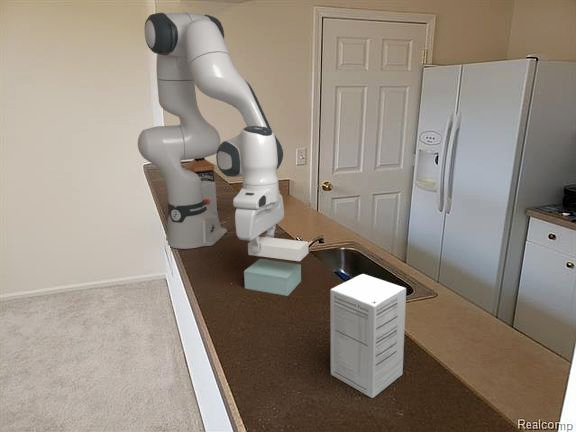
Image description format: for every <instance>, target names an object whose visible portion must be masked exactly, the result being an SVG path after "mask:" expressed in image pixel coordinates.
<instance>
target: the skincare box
mask: <svg viewBox="0 0 576 432" xmlns="http://www.w3.org/2000/svg"><path fill="white" fill-rule="evenodd" d="M201 186H202V198H203V200H204V199H210V201H211V202H210V205H207V204H205V205H206V208H207V210H208V211H210V212H211V213H212V214H214V215H216V216H217V217H218V218H219V214H218V210H217V202H218V201H217V200H218V199H217V191H216V181H214V182H211V181H201Z"/></svg>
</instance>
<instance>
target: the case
mask: <svg viewBox="0 0 576 432" xmlns="http://www.w3.org/2000/svg"><path fill="white" fill-rule="evenodd" d="M243 278H244V280H243V281H244V289H247V290H251V291H257V292H263V293H267V294H275V295H280V296H286V297H287V296H289V295H290V294H291V293H292V292H293V290H295V289H296V287H298V285H299V284H300V283H301V282H302V264H300V263H294V262H287V261H286V262H285V261H278V260H272V259H265V258H259V259H258V260H256V261H255V262H254V263H253V264H251V265H250V266H248V267H247V268H246V269H244V271H243Z"/></svg>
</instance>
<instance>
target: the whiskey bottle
mask: <svg viewBox="0 0 576 432" xmlns="http://www.w3.org/2000/svg"><path fill="white" fill-rule="evenodd" d="M185 169H187V170H190V171H192V172H194V173H196V174H197V175H198V176H199V177H200V179H201V181H211V182H215V174H214V170H215V164H214V163H211V162H210V161H208V160H207V159H206V157H205V158H198V159H191V161H189V162H188V163H186V164H185ZM218 202H219V201H217V208H218V209H219V205H218Z"/></svg>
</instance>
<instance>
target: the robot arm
mask: <svg viewBox="0 0 576 432" xmlns="http://www.w3.org/2000/svg"><path fill="white" fill-rule="evenodd" d="M144 38H145V41H146V45H147V47H148V48H149V50H150V51H151V52H152V53H154V54H156V65H155V66H156V68H155V69H156V70H155V71H156V85H157V95H158V103H159V106H160V107H161V108H162V109H163V110H164V111H165V112H167V113H169V114H171V115H173V116H175V117H178V118H179V122H180V123H179V124H175V125H160V126H154V127H153V126H152V127H149V128H147V129H143V130H142V131H141V132H140V133H139V135H138V139H137V148H138V151H139V153H140V155H141V157H142V158H143V159H145V160H146V161H147V162H149V163H151V164H153V166H155V167H156V168H157V169H158V171H159V172H160V174H161V175H162V177H163V180H164V182H165V187H166V192H167V201H168V202H167V205H166V206H167V208H166V209H167V214H168V217H167V235H166V236H165V240H166V241H167V245H168V246H169V247H171V248H173V249H180V250H181V249H183V250H184V249H186V250H187V249H196V248H201V247H210V246H214V245H215V244H216V243H217V242H218V241H220V240H221V238H222V237H223V236H225V235H226V234H225V233H226V232H227V233H228V229H226V228H224V227H221V225H220V220H219V216H218V217H217V216H216V215H214V214H212V213H211V212H210V211H208V210H207V208H206V205H205V204H207V205H210V202H211V201H210V199H204V200H203V198H202V186H201V179H200V177H199V176H198V175H197V174H196V173H194V172H192V171H190V170H187V169H186V168H183V167H182V161H185V160H194V159H198V158H205V159H206V158H208V157H211V156H213V155H216V156H215V158H216V165H217V168H218V169H219V170H220V172H221V173H222V174H223V175H225V176H226V177H230V178H237V177H242V187H241V189H240V191H238V193H237V194H236V196H235V197H234V198H233V200H232V204H233V207H234V208H236V210H235V213H234V224H235V231H236V232H235V233H236V237H237V238H238V239H239V240H242V241H249V242H251V244H252V251H253V252H258V251H260V250H261V244H259V241H258V239H259V236H260V235H262V234H263V233H265V232H266V234H265V235H264V237H269V238H275V231H276V226H277V225H276V224H278V223H280V222H281V221H283V220H284V217H285V208H284V205H285V204H284V199H283V196H282V194H281V192H280V189H279V185H280V184H279V178H278V174H277V170H278V169H279V168H280V166H281V164H282V162H283V159H284V151H283V147H282V144H281V142H280V140H278V138H277V137H276V135H275V134H274V131H273V130H272V128H271V126H270V123H269V121H268V119H267V118H266V115H265V112H264V110H263V108H262V106H261V104H260V101H259V99H258V97H257V95H256V93H255V92H254V90H253V88H252V86H251V85H250V84H249V82H248V81H247V80H246V79H244V78H243V76H241V74H240V73H239V71H238V69H237V68H236V66H235V65H234V63H233V60H232V57H231V54H230V51H229V48H228V45H227V44H226V43H227V42H226V41H225V31H224V27H223V25H222V22H221V21H220V20H219V18H217V17H215V16H212V15H209V14H198V13H194V12H193V13H192V12H173V13H172V12H171V13H170V12H168V13H164V12H156V13H152V14H150V15H149V16H148V17H147V19H146V20H145V23H144ZM196 88H197V89H198V90H199V92H201V93H202V94H203V95H205V96H207V97H209V98H211V99H213V100H218V101H220V102H224V103H226V104H228V105H230V106H232V107H233V108H235V109H236V110H237V111H238V112H239V113H240V115H241V117H242V119H243V120H244V122H245V124H246V127H244V128H242V129H241V130H240V132H239V134H238V135H236V136H234V137H232V138H230V139H228V140H224V141H222V142H221V137H220V136H221V135H220V134H219V132H218V129H216V127H214V126H213V125H212V124H210V123H209V122H208V121H207V120H206V119H205V118H204V116H203V115H202V113H201V110H200V109H199V106H198V101H197V92H196ZM224 234H225V235H224Z"/></svg>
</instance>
